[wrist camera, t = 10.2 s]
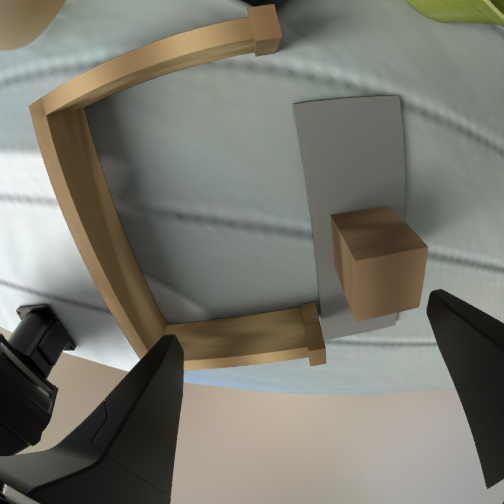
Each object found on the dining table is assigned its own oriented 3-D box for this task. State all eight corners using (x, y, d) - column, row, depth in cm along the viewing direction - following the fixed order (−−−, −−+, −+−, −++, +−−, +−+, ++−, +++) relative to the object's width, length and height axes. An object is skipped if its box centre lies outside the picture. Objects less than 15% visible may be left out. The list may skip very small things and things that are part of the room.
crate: (161, 337, 27) (148, 379, 22) (66, 95, 16) (20, 103, 11) (316, 317, 25) (326, 363, 20) (269, 28, 14) (274, 4, 9)
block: (334, 267, 22) (355, 321, 17) (330, 215, 20) (355, 260, 15) (387, 258, 21) (418, 306, 16) (388, 205, 19) (427, 246, 14)
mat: (322, 337, 26) (322, 340, 26) (292, 104, 16) (293, 104, 16) (393, 322, 25) (395, 324, 25) (396, 95, 16) (399, 95, 15)
